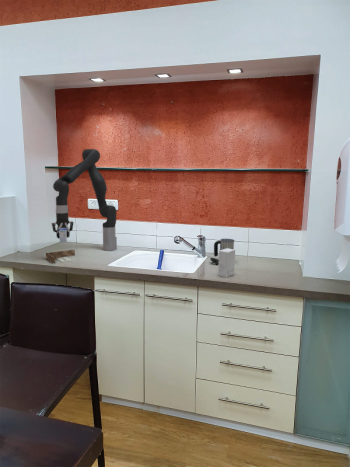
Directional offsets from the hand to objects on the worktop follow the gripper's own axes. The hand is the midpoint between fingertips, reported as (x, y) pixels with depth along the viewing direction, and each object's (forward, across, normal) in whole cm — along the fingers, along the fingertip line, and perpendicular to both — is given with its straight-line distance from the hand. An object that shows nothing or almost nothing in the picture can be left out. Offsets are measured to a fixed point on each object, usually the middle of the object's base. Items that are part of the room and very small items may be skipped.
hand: (63, 237), depth 226 cm
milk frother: (+15, +81, -64) cm, 105 cm away
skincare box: (+15, +64, -86) cm, 108 cm away
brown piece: (+15, 0, +1) cm, 15 cm away
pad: (+15, 0, 0) cm, 15 cm away
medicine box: (+2, 0, 0) cm, 2 cm away
